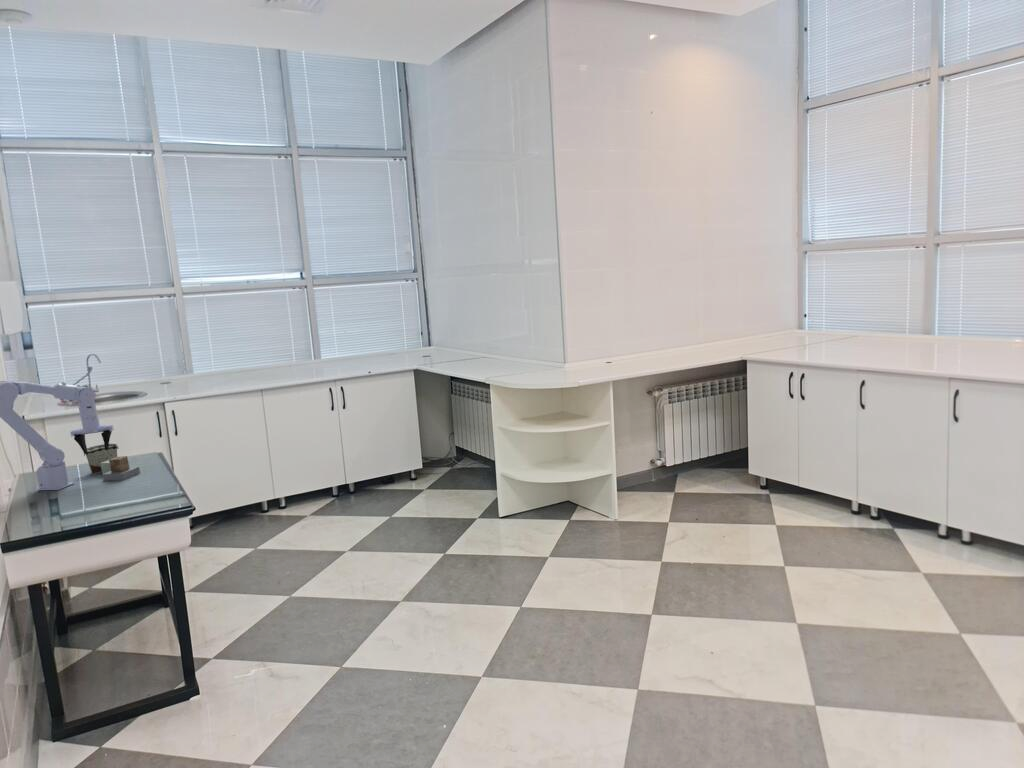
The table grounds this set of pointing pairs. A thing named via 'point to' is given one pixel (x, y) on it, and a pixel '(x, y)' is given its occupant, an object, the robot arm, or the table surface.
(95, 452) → the food container
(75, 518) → the table surface
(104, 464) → the sage block
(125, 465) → the walnut block
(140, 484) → the table surface
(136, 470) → the base block
